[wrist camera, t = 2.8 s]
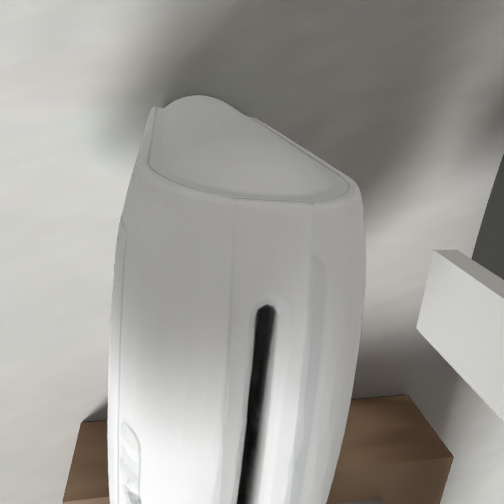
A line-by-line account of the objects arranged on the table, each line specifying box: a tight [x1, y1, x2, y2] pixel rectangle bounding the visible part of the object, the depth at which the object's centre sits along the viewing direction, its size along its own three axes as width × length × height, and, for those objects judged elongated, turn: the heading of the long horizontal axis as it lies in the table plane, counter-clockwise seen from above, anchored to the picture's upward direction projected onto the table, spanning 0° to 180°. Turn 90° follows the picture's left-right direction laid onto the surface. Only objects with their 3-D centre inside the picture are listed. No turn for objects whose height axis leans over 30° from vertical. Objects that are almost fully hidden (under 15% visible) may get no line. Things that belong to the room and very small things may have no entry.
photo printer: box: [107, 95, 366, 504], centre depth 12 cm, size 10×4×12 cm, turn 173°
